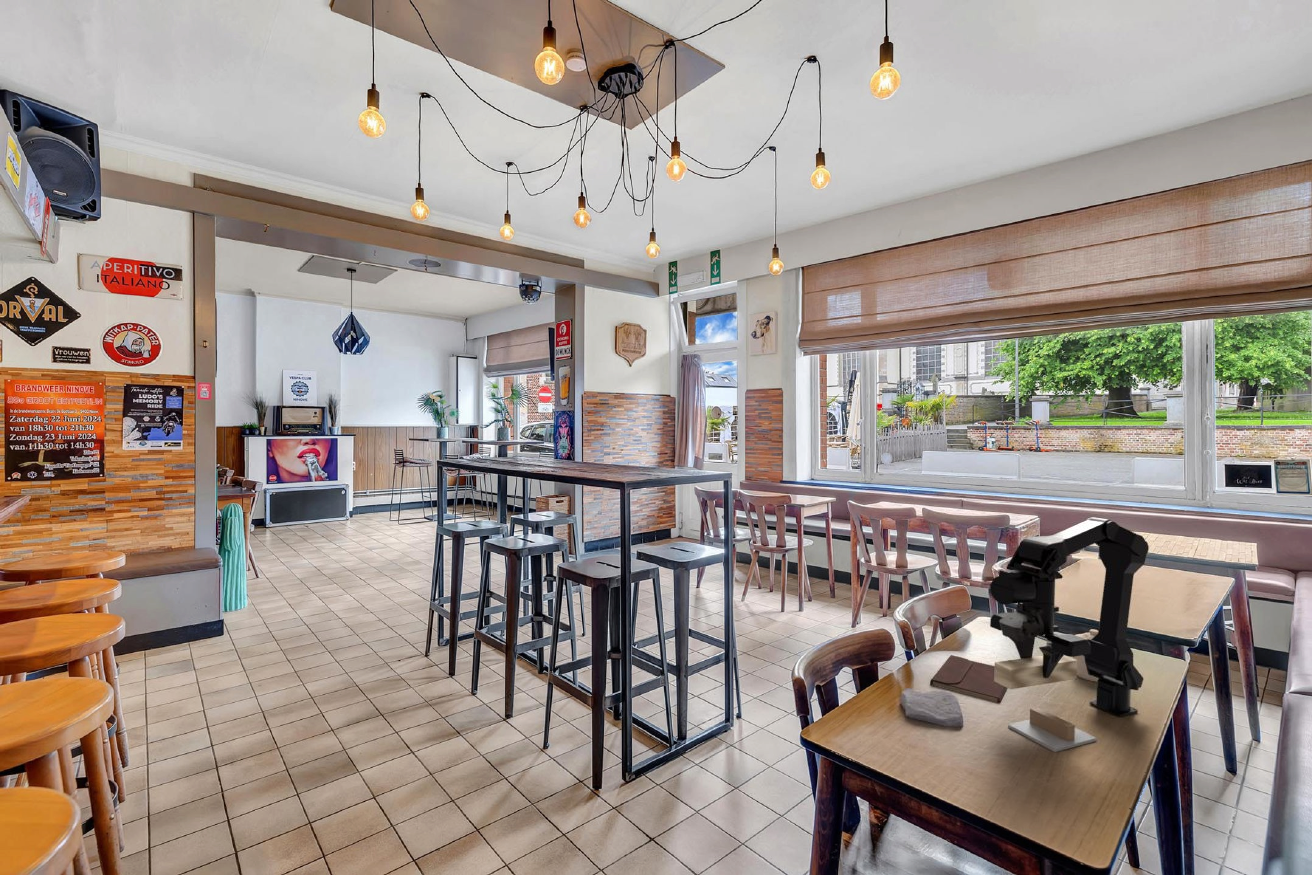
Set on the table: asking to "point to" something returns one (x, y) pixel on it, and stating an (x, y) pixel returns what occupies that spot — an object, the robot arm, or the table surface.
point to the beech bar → (1032, 672)
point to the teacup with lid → (1081, 664)
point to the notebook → (969, 678)
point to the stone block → (932, 707)
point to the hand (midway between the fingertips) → (1036, 673)
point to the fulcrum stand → (1051, 731)
